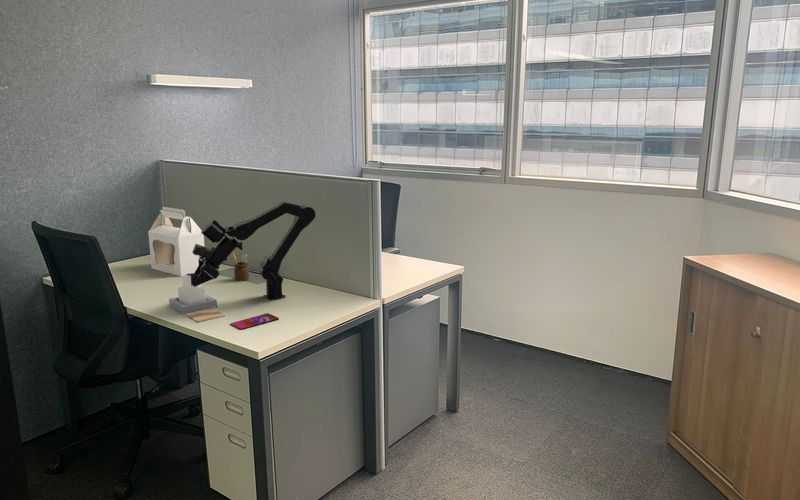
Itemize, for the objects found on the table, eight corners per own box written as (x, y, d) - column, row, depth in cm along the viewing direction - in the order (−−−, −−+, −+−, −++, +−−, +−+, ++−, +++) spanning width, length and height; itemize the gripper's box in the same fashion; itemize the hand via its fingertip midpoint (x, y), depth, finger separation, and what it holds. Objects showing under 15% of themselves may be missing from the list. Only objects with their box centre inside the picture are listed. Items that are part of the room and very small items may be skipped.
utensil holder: (246, 281, 250) (244, 253, 247) (231, 280, 251) (230, 253, 248) (251, 277, 256) (249, 250, 253) (237, 277, 256) (235, 250, 254)
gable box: (151, 268, 269) (145, 207, 263) (176, 263, 280) (171, 204, 273) (181, 276, 257) (176, 212, 250) (206, 270, 267) (202, 208, 261)
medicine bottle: (196, 301, 223) (194, 270, 221) (207, 305, 219) (205, 274, 216) (179, 306, 218) (176, 274, 215) (189, 310, 214) (187, 278, 211)
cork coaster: (225, 316, 208) (225, 315, 208) (197, 322, 202) (197, 321, 201) (212, 309, 215) (212, 307, 215) (185, 315, 209) (185, 313, 209)
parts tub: (216, 306, 218) (216, 300, 217) (183, 314, 210) (182, 307, 209) (202, 298, 227) (202, 292, 227) (169, 305, 219) (169, 298, 219)
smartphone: (229, 323, 200) (267, 312, 210) (229, 325, 200) (267, 315, 210) (240, 329, 195) (279, 318, 205) (241, 331, 195) (280, 320, 205)
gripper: (203, 231, 223) (174, 262, 222) (207, 241, 206) (175, 275, 205) (226, 250, 228) (198, 281, 226) (231, 262, 211) (201, 294, 210)
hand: (192, 282), depth 217 cm, fingers open, 9 cm apart
